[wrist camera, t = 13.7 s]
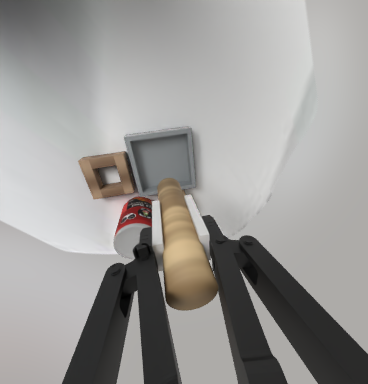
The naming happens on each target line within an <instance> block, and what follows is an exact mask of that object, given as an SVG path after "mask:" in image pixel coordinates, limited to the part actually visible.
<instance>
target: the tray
mask: <svg viewBox="0 0 368 384" xmlns="http://www.w3.org/2000/svg"><path fill="white" fill-rule="evenodd" d="M124 139H125V143H126V147H127V150H128V154H129V158H130V162H131V166H132V169H133V173H134V177H135V181H136V185H137V188H138V192H139V196H140V197H143V196H149V195H154V194H158V192H157V187H158V184H159V183H160V181H162V180H163V179H165V178H173V179H175V180H177V181H178V182H179V184H180V186H181V189H182V190H183V189H189V188H194V187H196V180H195V168H194V156H193V144H192V132H191V128H190V127H181V128H173V129H166V130H159V131H151V132H144V133H137V134H129V135H126V136H125V137H124Z"/></svg>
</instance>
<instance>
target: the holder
mask: <svg viewBox="0 0 368 384" xmlns="http://www.w3.org/2000/svg"><path fill="white" fill-rule="evenodd" d="M78 162H79V165H80V167H81V170H82V172H83V174H84V177H85V179H86V182H87V184H88V187H89V189H90V191H91V194H92V196H93V199H99V198H105V197H111V196H117V195H123V194H129V193H134V190H135V186H134V182H133V178H132V175H131V171H130V167H129V164H128V160H127V156H126V152H125V151H124V152H117V153H111V154H104V155H97V156H90V157H83V158H82V159H80V160H79V161H78ZM115 165H116V166H117V169H118V173H119V176H120V179H121V182H118V183H112V184H106V185H103V183H102V180H101V177H100V175H99V172H98V169H97V168H102V167H108V166H115Z"/></svg>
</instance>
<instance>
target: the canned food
mask: <svg viewBox="0 0 368 384" xmlns="http://www.w3.org/2000/svg"><path fill="white" fill-rule="evenodd" d="M147 227H152V201H151V200H150V199H148V198H145V197H135V198H133V199H131V200H129V201H128V202H127V203H126V204H125V205H124V207H123V209H122V213H121V216H120V219H119V223H118V226H117V230H116V233H115V237H114V248H115V250H116V252H117V253H118V254H119V255H121V256H123V257H125V258H129V259H135V257H134V254H133V248H134V247H135V246H136V245H137V244H138V243H139V241H140V240H139V239H140V232H141V230H142V229H143V228H147Z"/></svg>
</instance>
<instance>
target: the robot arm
mask: <svg viewBox="0 0 368 384" xmlns="http://www.w3.org/2000/svg"><path fill="white" fill-rule="evenodd" d="M184 198H185V202H186V205H187V208H188V210H189V213H190V216H191V219H192V221H193V224H194V227H195V230H196V232H197V235H198V238H199V241H200V242H201V243H202V245H203V247H204V250H205V252H206V255H207V258H208V260H211V259H210V258H212V266H213V271H214V274H215V279H216V281H217V284H218V292H219V297H220V302H221V306H222V311H223V315H224V320H225V324H226V329H227V334H228V338H229V343H230V347H231V352H232V356H233V361H234V366H235V370H236V374H237V380H238V384H288V383H287V381H286V378H285V376H284V373H283V371H282V368H281V366H280V364H279V362H278V361H277V359H276V358H275V357H274V356H273V355H272V353H271V351H270V348H269V346H268V343H267V340H266V338H265V335H264V333H263V330H262V327H261V324H260V322H259V319H258V317H257V314H256V312H255V309H254V306H253V303H252V301H251V298H250V295H249V293H248V290H247V287H246V285H245V282H244V280H243V277H242V274H241V272H240V270H241V271H242V273H243V274H244V276H245V277H246V279H247V280H248V282H249V283H250V285H251V286H252V288H253V289H254V290H255V292H256V293H257V295H258V296H259V298H260V299H261V301H262V302H263V304H264V305H265V306H266V308H267V310H268V311H269V312H270V314H271V315H272V317H273V318H274V320H275V321H276V323H277V324H278V326H279V327H280V328H281V330H282V332H283V333H284V334H285V336H286V337H287V339H288V340H289V342H290V343H291V345H292V346H293V348H294V349H295V351H296V352H297V353H298V355H299V356H300V358H301V359H302V361H303V362H304V364H305V365H306V367H307V368H308V370H309V371H310V373H311V374H312V375H313V377H314V378H315V380H316V381H317V383H318V384H368V354H367V353H366V352H365V351H364V350H363V349H362V348H361V347H360V346H359V345H358V344H357V342H356V341H355V340H354V339H353V338H352V337H351V336H350V335H349V334H348V333H347V332H346V331H345V330H344V329H343V328H342V327H341V326H340V325H339V324H338V323H337V322H336V321H335V320H334V319H333V318H332V317H331V316H330V315H329V314H328V313H327V312H326V311H325V310H324V309H323V307H321V306H320V304H318V302H317V301H316V300H315V299H314V298H313V297H312V296H311V295H310V294H309V293H308V292H307V291H306V290H305V289H304V288H303V287H302V286H301V285H300V284H299V283H298V282H297V281H296V280H295V279H294V278H293V277H292V276H291V275H290V273H288V271H287V270H286V269H285V268H283V266H282V265H281V264H280V263H279V262H278V261H277V260H276V259H275V258H274V257H273V256H272V255H271V254H270V253H269V252H268V251H267V250H266V249H265V248H264V247H263V246H262V245H261V244H260V243H259V242H258V241H257V240H256V239H255V238H254V237H252V236H242V237H241V238H240V240H230V239H228V238H227V237H226V236H224V235H223V234H222V232H221V231H220V229H219V227H218V225H217V224H216V222H215V220H214V218H213V217H211V216H210V215H207V216H202V217H201V215H200V213H199V211H198V208H197V206H196V204H195V202H194V200H193V198H192V195H185V196H184ZM139 240H140V241H139V243H138V244H137V245H136V246H135V247H134V248H133V254H134V257H135V259H134V260H133V261H132V262H130V263H128V264H126V265H124V264H122V263H116V264H114V265H112V266H110V267H109V268H108V269H107V271H106V273H105V276H104V278H103V281H102V283H101V286H100V288H99V291H98V294H97V296H96V299H95V301H94V304H93V306H92V309H91V311H90V314H89V316H88V319H87V321H86V324H85V326H84V329H83V332H82V334H81V337H80V339H79V342H78V345H77V347H76V350H75V352H74V354H73V357H72V360H71V362H70V365H69V367H68V370H67V372H66V375H65V377H64V380H63V382H62V384H116V383H117V377H118V372H119V367H120V362H121V357H122V352H123V347H124V342H125V336H126V331H127V327H128V322H129V317H130V311H131V307H132V302H133V296H134V292H135V291H137V290H138V303H139V318H140V331H141V346H142V359H143V373H144V384H182V382H181V378H180V373H179V368H178V363H177V358H176V354H175V349H174V344H173V339H172V335H171V330H170V325H169V321H168V316H167V311H166V306H165V301H164V297H163V292H162V287H161V282H160V278H159V274H158V270H159V271H163V258H162V254H163V251H164V244H163V233H162V221H161V210H160V202H159V200H157V201H152V227H147V228H143V229H142V230H141V232H140V239H139ZM210 256H211V257H210Z"/></svg>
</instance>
